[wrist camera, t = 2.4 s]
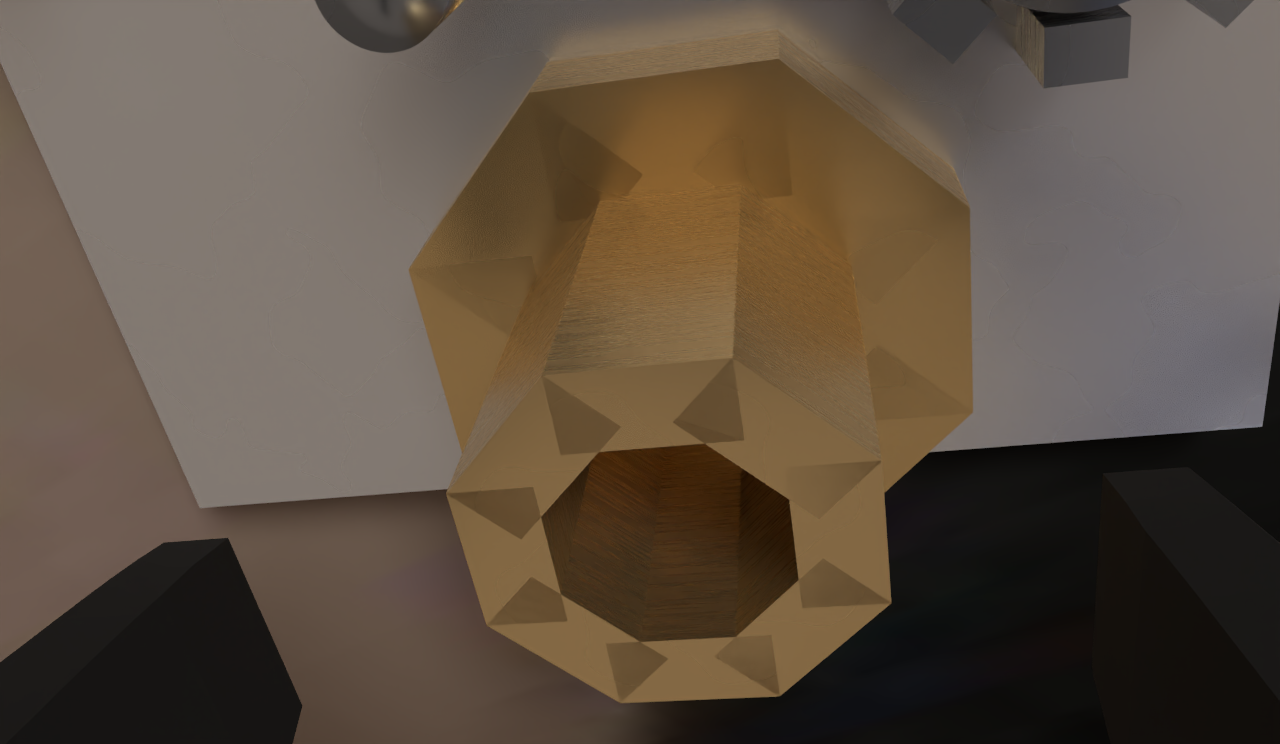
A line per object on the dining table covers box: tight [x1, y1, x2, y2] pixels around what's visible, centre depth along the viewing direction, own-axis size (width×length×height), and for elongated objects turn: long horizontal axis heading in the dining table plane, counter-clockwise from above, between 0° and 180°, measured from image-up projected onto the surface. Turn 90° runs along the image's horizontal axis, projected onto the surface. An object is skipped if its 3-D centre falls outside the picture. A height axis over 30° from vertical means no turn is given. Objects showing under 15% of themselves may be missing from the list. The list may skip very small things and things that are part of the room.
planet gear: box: [408, 30, 973, 703], centre depth 12 cm, size 6×6×5 cm
